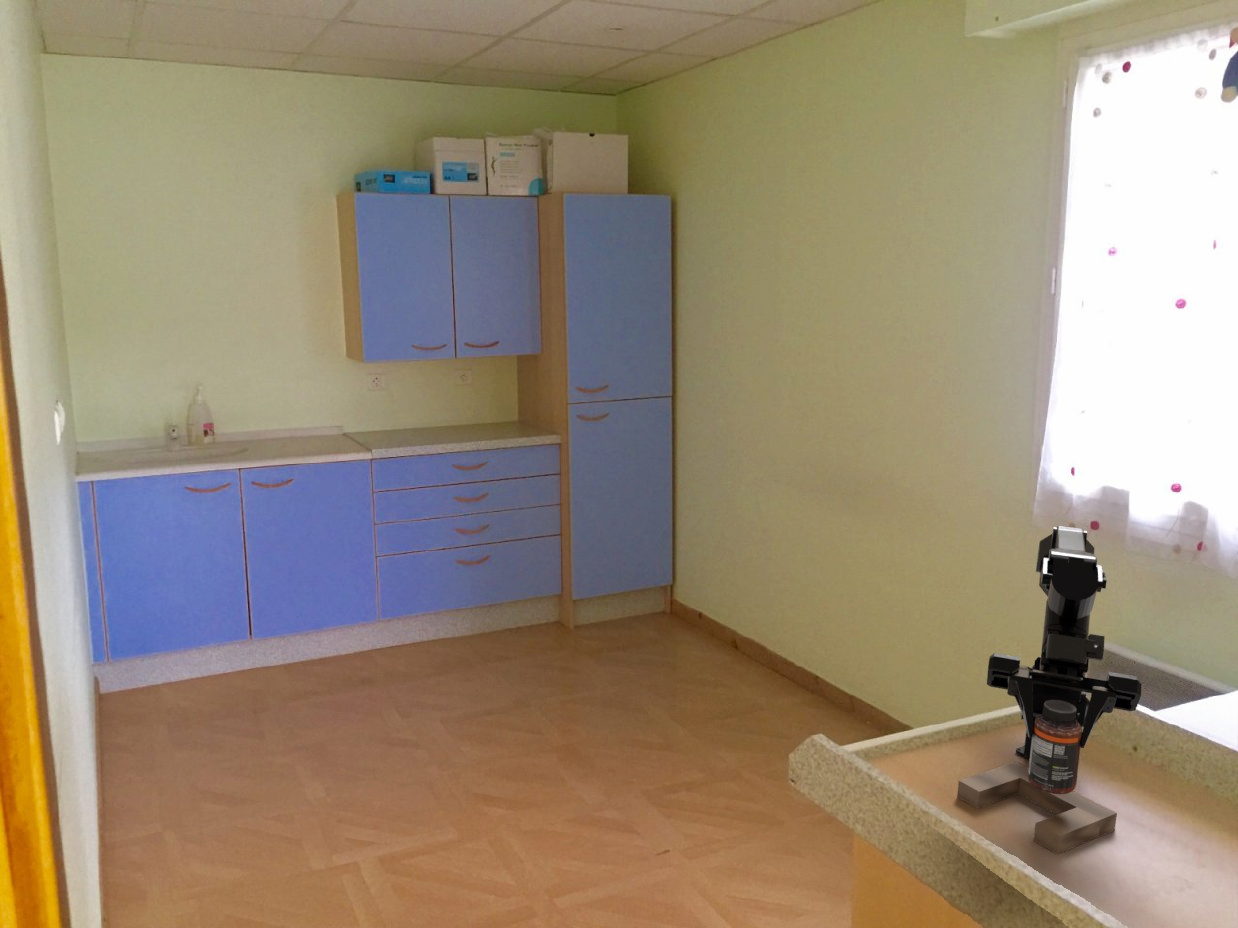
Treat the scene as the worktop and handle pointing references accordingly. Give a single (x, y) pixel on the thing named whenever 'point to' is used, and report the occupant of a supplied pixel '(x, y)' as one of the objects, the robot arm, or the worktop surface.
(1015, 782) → the notched board
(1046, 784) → the supplement bottle
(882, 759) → the worktop surface
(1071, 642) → the robot arm
